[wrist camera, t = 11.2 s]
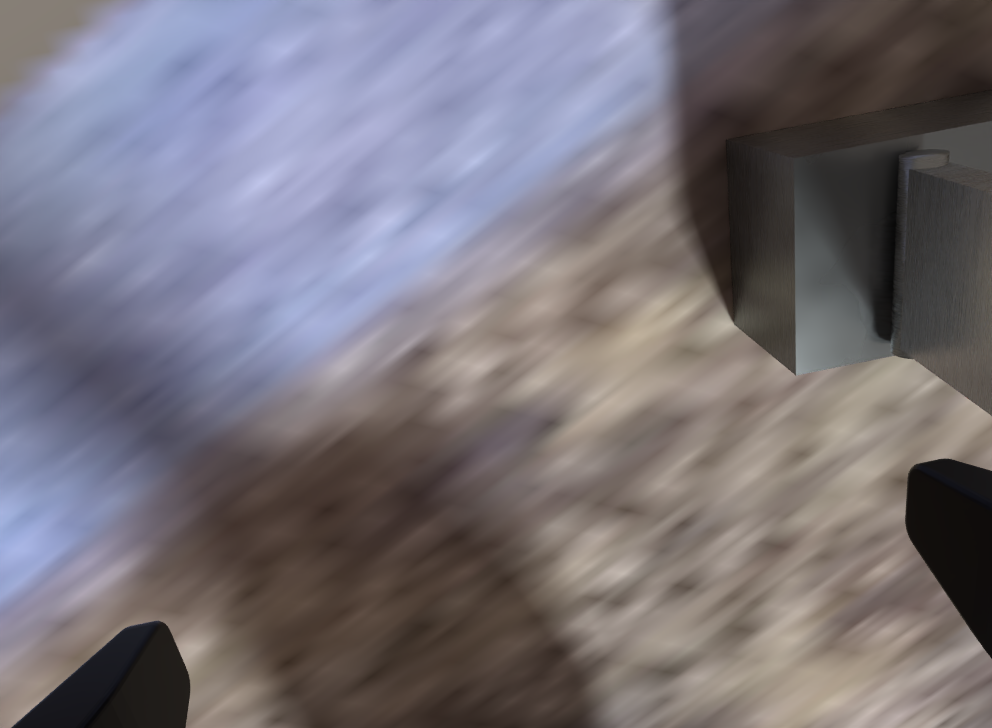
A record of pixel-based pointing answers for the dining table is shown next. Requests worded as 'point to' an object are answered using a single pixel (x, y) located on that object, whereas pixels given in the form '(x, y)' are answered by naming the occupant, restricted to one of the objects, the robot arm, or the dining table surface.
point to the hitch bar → (833, 225)
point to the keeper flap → (944, 271)
